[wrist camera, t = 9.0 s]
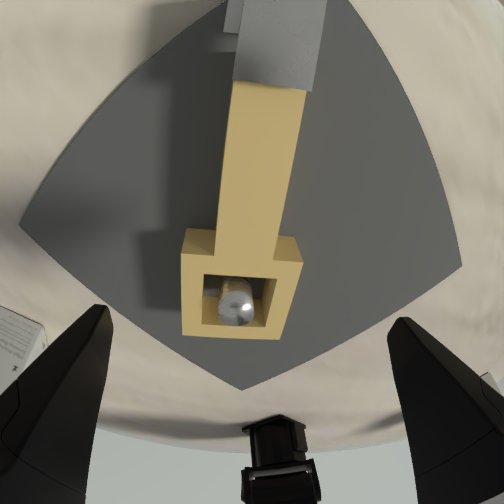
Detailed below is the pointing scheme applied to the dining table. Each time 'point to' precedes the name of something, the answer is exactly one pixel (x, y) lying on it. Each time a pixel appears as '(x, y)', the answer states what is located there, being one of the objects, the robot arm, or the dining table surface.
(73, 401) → the robot arm
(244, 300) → the cylinder
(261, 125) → the link
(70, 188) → the mat
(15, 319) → the skincare box
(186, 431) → the dining table surface
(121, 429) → the dining table surface
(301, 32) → the keeper
